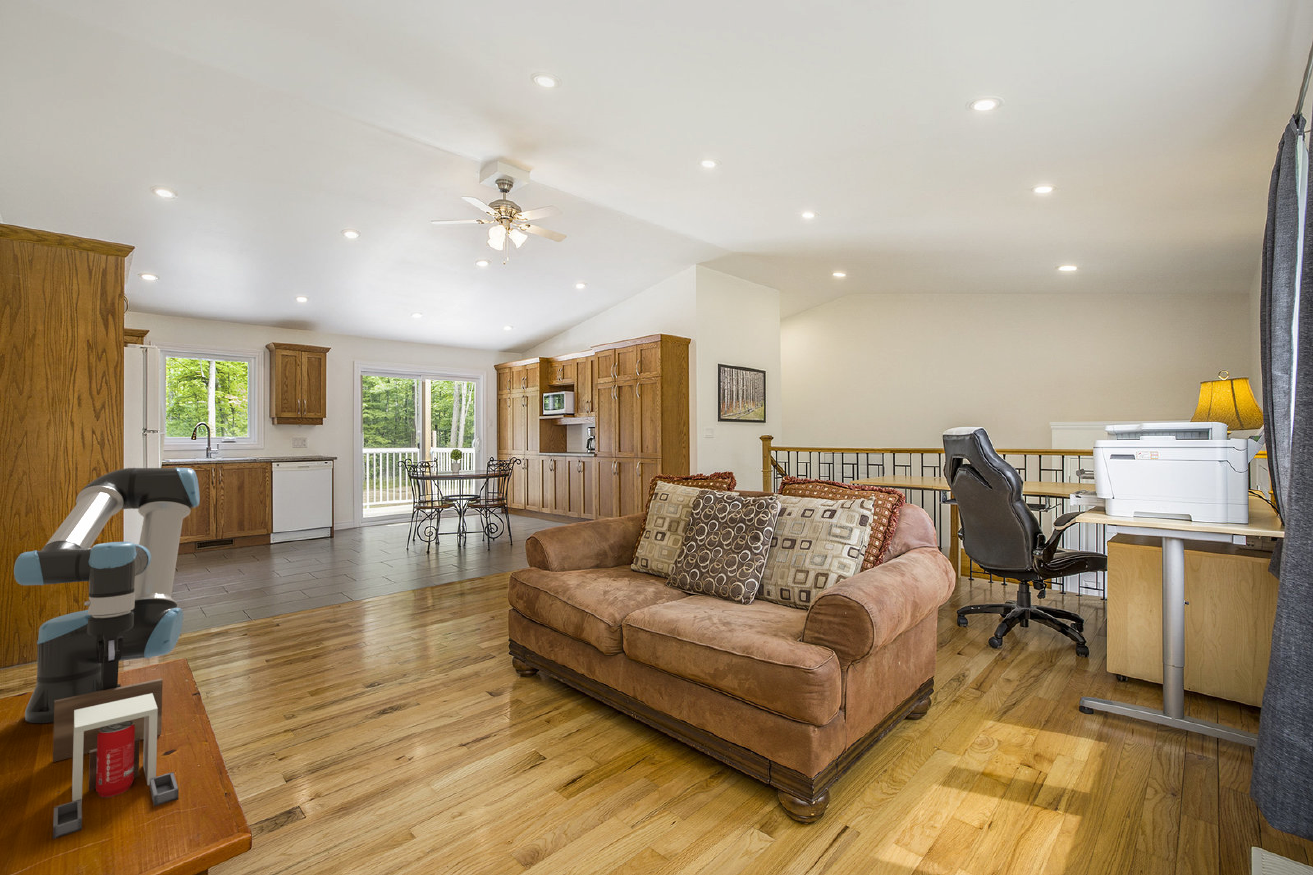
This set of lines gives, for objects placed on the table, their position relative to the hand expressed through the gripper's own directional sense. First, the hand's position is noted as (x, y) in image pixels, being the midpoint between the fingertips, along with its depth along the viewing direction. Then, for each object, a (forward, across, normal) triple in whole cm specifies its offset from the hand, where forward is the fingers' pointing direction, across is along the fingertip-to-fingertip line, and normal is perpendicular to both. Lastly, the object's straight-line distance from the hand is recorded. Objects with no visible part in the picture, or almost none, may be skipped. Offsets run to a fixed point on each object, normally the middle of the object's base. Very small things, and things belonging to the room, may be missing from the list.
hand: (107, 721), depth 130 cm
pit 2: (+4, +34, +7) cm, 35 cm away
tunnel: (+4, +24, 0) cm, 24 cm away
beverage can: (+5, +27, 0) cm, 27 cm away
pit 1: (+5, +34, -6) cm, 35 cm away
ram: (+4, +14, 0) cm, 14 cm away
